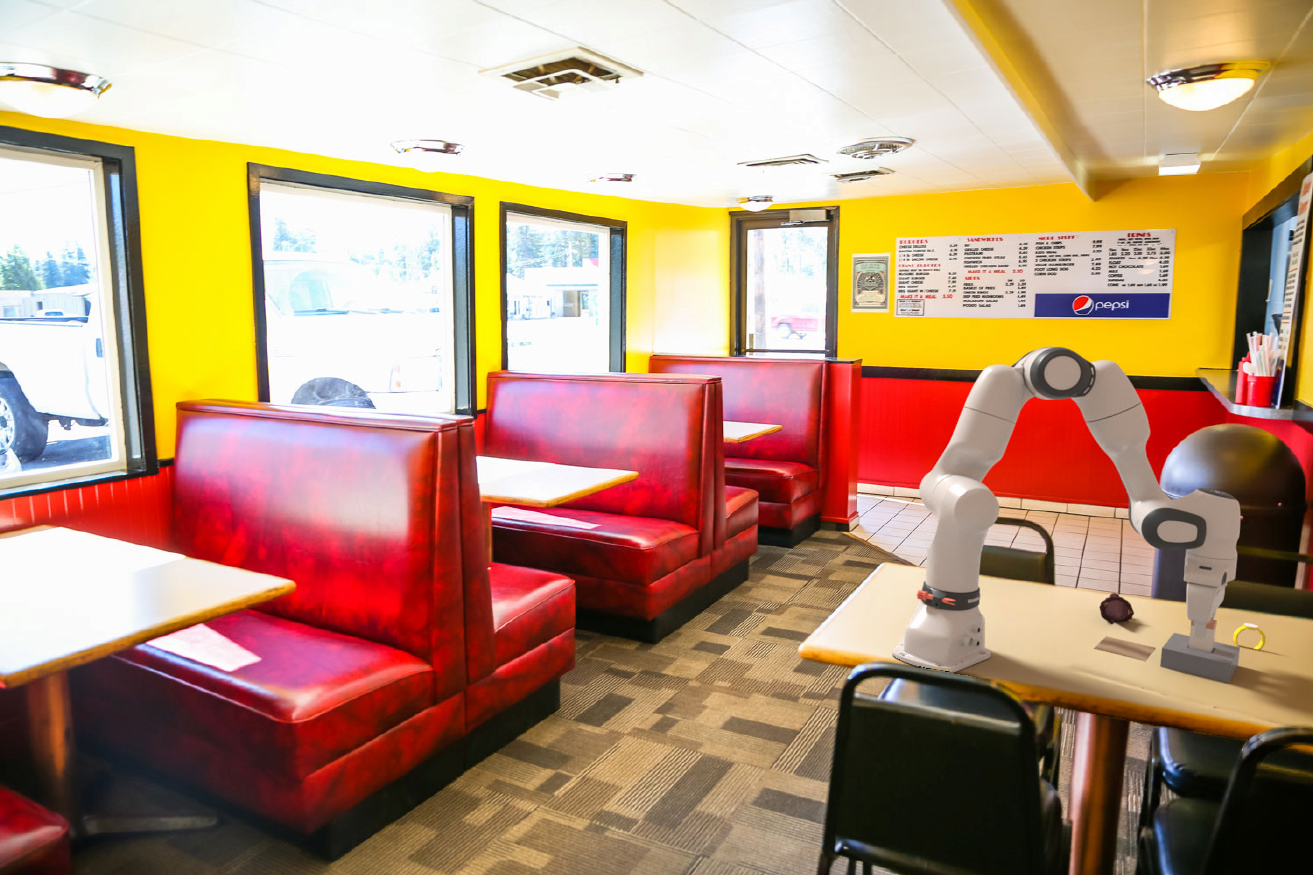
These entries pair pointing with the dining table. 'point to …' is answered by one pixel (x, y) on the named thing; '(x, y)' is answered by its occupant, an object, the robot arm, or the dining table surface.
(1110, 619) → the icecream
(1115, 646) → the pad
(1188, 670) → the block
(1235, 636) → the watch
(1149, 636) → the dining table surface
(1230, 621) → the dining table surface
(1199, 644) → the plug
